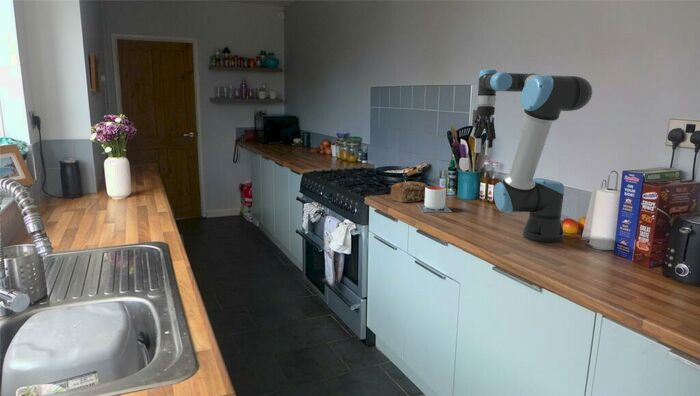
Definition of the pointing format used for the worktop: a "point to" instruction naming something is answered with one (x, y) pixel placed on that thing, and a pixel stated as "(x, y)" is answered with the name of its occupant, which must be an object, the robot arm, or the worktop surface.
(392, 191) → the bread
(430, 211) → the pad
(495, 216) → the worktop surface
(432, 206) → the cup
